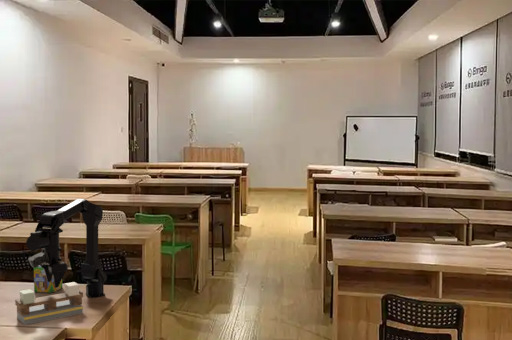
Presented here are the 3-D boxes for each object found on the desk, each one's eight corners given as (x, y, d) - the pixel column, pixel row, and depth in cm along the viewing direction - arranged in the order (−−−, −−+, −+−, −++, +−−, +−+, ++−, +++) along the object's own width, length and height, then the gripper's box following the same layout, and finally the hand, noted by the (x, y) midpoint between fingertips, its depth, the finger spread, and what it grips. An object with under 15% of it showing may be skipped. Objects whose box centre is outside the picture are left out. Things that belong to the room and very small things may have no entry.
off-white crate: (74, 291, 223) (74, 281, 222) (78, 294, 219) (78, 284, 218) (64, 293, 220) (64, 283, 220) (68, 296, 216) (68, 286, 216)
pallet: (77, 300, 224) (77, 288, 224) (83, 304, 220) (83, 292, 219) (15, 311, 210) (15, 299, 209) (19, 316, 205) (19, 303, 205)
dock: (73, 306, 225) (73, 299, 225) (83, 313, 217) (82, 306, 217) (17, 317, 212) (16, 310, 212) (24, 325, 204) (24, 317, 204)
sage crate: (30, 299, 212) (30, 289, 212) (34, 302, 208) (34, 292, 208) (19, 301, 210) (19, 290, 210) (23, 304, 206) (23, 294, 206)
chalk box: (52, 293, 243) (51, 260, 242) (33, 292, 245) (32, 259, 244) (63, 287, 252) (62, 255, 251) (45, 286, 254) (44, 254, 253)
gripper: (23, 244, 217) (24, 282, 218) (37, 252, 202) (38, 294, 204) (52, 240, 224) (53, 277, 225) (67, 248, 209) (68, 288, 211)
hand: (52, 284), depth 216 cm, fingers open, 9 cm apart
